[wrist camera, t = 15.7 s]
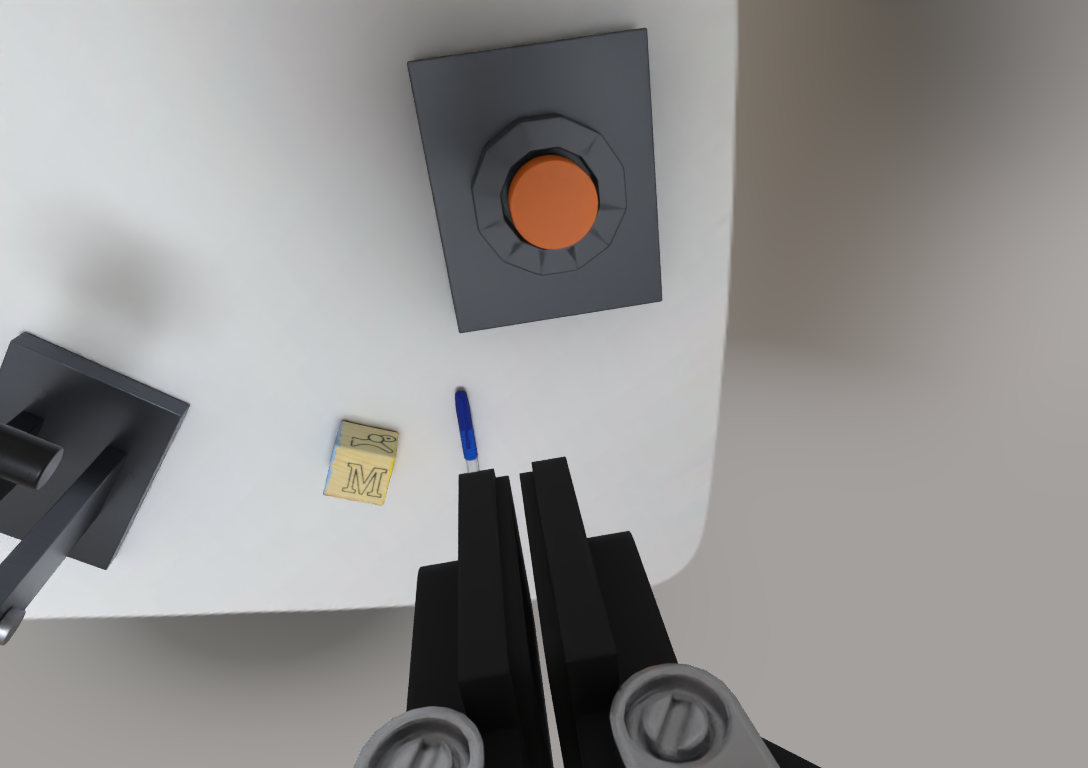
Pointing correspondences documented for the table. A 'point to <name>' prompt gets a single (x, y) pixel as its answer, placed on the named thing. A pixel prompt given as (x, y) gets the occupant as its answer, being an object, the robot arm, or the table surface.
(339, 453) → the alphabet block
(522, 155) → the control block
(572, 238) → the button
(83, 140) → the table surface
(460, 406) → the ballpoint pen
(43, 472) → the lever
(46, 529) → the bracket
